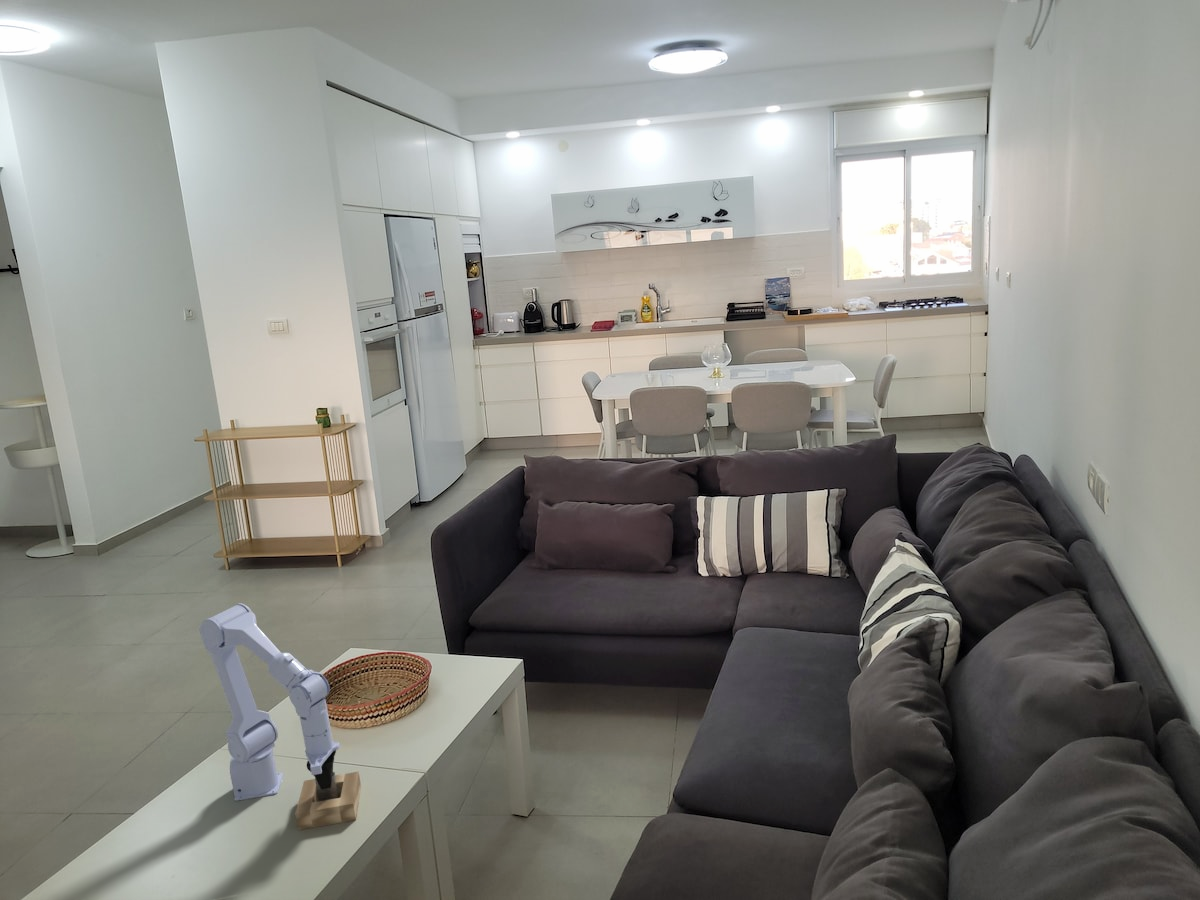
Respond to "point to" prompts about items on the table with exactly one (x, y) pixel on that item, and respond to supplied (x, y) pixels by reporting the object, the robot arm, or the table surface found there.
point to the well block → (329, 803)
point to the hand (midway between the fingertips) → (326, 784)
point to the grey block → (328, 790)
